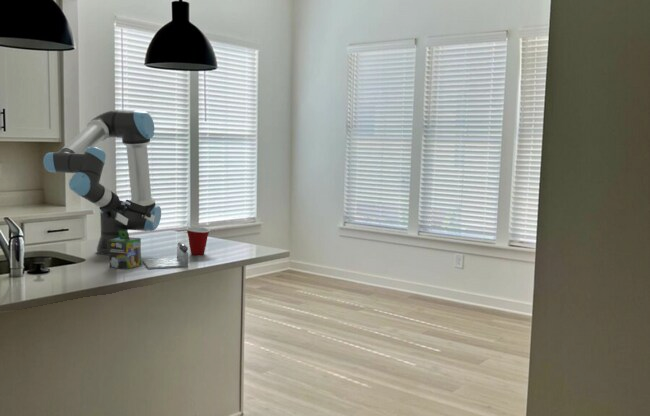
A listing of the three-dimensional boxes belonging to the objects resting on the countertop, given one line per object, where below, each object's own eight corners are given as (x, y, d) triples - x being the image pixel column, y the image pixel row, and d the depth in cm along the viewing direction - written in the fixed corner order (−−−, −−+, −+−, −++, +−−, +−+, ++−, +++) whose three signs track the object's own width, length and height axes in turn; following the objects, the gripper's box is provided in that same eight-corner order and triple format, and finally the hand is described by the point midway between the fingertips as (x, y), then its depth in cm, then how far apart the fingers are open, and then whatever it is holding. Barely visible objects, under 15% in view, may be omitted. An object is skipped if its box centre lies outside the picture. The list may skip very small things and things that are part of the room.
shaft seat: (142, 261, 261) (142, 242, 260) (181, 259, 267) (181, 240, 267) (148, 269, 246) (148, 249, 245) (189, 266, 253) (189, 247, 252)
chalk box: (141, 265, 253) (141, 230, 251) (126, 269, 244) (126, 233, 243) (123, 263, 256) (123, 228, 254) (108, 267, 248) (108, 231, 246)
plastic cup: (204, 257, 274) (204, 230, 273) (182, 255, 276) (182, 229, 275) (213, 253, 285) (214, 227, 283) (191, 251, 287) (192, 226, 285)
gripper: (77, 210, 236) (114, 231, 254) (128, 204, 227) (163, 226, 244) (82, 193, 239) (118, 215, 257) (132, 186, 230) (166, 209, 247)
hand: (140, 220), depth 251 cm, fingers open, 13 cm apart
